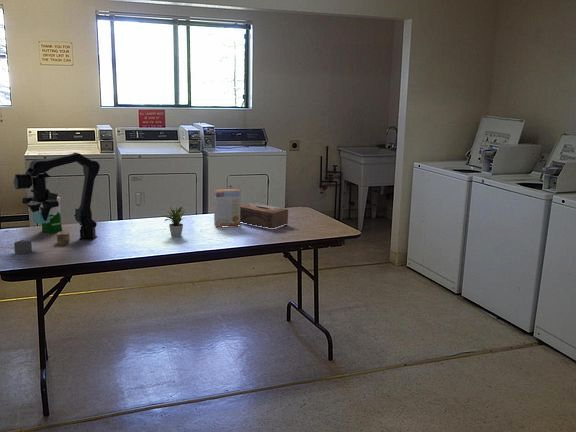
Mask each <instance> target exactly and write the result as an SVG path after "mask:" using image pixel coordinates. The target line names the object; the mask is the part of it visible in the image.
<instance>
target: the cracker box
mask: <svg viewBox="0 0 576 432" xmlns="http://www.w3.org/2000/svg"><path fill="white" fill-rule="evenodd" d="M213 204H214V205H213V210H214V211H213V214H214V215H213V216H214V217H213V222H214V223H213V225H215V226H216V227H215V226H214V227H215V228H217V227H220V228H223V227H222V226H235V227H239V226H238V225H240V226H241V223H240V206H241V190H240V189H239V188H225V189H224V188H223V189H214V190H213Z"/></svg>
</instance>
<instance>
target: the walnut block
mask: <svg viewBox="0 0 576 432" xmlns="http://www.w3.org/2000/svg"><path fill="white" fill-rule="evenodd" d="M70 242H71V241H70V231H58V232H56V243H57V245H69V244H70Z"/></svg>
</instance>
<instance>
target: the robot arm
mask: <svg viewBox="0 0 576 432" xmlns="http://www.w3.org/2000/svg"><path fill="white" fill-rule="evenodd" d="M72 163H78V164H79V165H80V166H82V171H83V175H84V178H83V179H84V180H83V187H82V194H81V199H80V205H79V207H78V208H75V213H74V215H73V216H74V217H75V218H74V219H75V221H76V222H77V223H78V224H79V226H80V229H79V240H85V241H86V240H87V241H88V240H89V241H92V240H94V239H96V238H98V235H97V234H96V227H97V225H98V223H97V221H94V220H93V217H92V216H93V212H92V209H91V205H92V198H93V191H94V184H95V179H96V177H97V176H98V174H99V171H100V169H101V166H100V163H99V162H98V161H96V160H93V159H90V158H88V157H86V156H84V155H82V154H81V153H79V152H72V153H69V154H65V155H62V156H58V157H52V158H48V159H47V158H45V159H43V158H42V159H41V158H40V159H33V160H31V162H30V163H29V167H28V169H27V170H26V172H25V173H21V174H20V173H15V174H14V178H13V179H14V180H13V186H14V189H15V190H24V189H25V190H26V189H30V188H31V187H32V189H30V192H31V193H32V195H31V196H30V195H29V196H24V197H23V198H22V199H21V200H22V205H23V204H25V205H27V207H28V208H29V209H30V212H32V213H33V212H35V211H40V210H41V213H42V216H43V219H44V221H46V220H47V218H48V214H49V212H50V209H51V208H53V207H58V206H59V202H58V201H57V196H58V197H59V194H57V193H53V192H51V193H50V189H49V188H47V181H46V178H50V177H51V175H50V174H48V173H47V172H48V171H50V170H51V169H54V168H56V167H60V166H64V165H69V164H72ZM41 204H43V207H41Z"/></svg>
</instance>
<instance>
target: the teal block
mask: <svg viewBox="0 0 576 432" xmlns="http://www.w3.org/2000/svg"><path fill="white" fill-rule="evenodd" d="M32 217H33V221H32V222H33V223H34V224H38V225H39V224H40V225H42V223H47V222H50V217H49V214H48V218H47V220H46V221H44V219H43V216H42V213H41V210H40V209H39V211H35V212H32Z"/></svg>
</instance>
